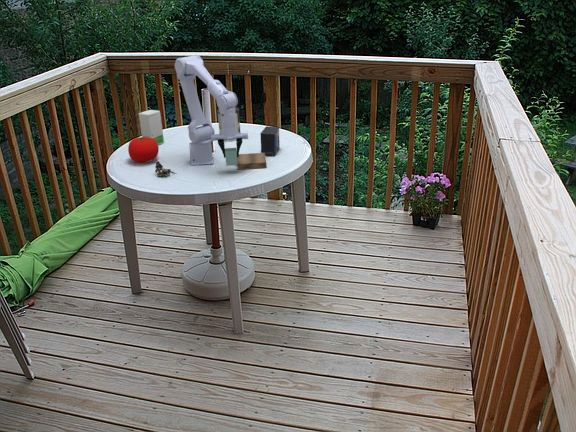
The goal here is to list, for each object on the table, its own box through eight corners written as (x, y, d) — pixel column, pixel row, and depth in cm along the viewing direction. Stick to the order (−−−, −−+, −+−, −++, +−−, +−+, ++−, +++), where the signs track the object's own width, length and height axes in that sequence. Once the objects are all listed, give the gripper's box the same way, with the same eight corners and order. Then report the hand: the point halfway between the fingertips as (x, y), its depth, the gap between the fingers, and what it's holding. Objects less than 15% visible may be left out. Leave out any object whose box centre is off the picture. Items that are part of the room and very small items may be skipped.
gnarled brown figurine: (174, 179, 225) (149, 168, 225) (171, 192, 229) (146, 181, 229) (184, 165, 235) (160, 155, 235) (181, 177, 239) (157, 167, 238)
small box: (275, 156, 248) (274, 133, 243) (260, 156, 249) (259, 133, 244) (280, 148, 257) (279, 126, 252) (266, 148, 258) (265, 125, 254)
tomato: (130, 156, 253) (126, 134, 249) (159, 153, 256) (156, 131, 251) (130, 167, 241) (126, 144, 236) (160, 164, 243) (157, 141, 239)
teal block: (226, 165, 229) (224, 151, 226) (226, 162, 233) (225, 148, 231) (237, 165, 229) (236, 150, 227) (237, 161, 233) (236, 147, 231)
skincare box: (152, 148, 263) (147, 115, 256) (142, 145, 266) (137, 113, 260) (164, 142, 270) (160, 110, 263) (154, 140, 273) (150, 108, 266)
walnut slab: (237, 169, 235) (237, 164, 234) (237, 159, 246) (236, 154, 244) (266, 168, 236) (266, 162, 235) (264, 158, 246) (264, 152, 245)
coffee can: (228, 133, 280) (226, 105, 273) (245, 136, 275) (243, 107, 268) (215, 139, 272) (212, 110, 266) (232, 142, 267) (230, 113, 261)
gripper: (210, 128, 220) (212, 161, 226) (247, 126, 221) (249, 159, 227) (210, 122, 226) (213, 155, 232) (247, 120, 227) (249, 153, 233)
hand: (231, 156), depth 230 cm, fingers closed on teal block, 4 cm apart
